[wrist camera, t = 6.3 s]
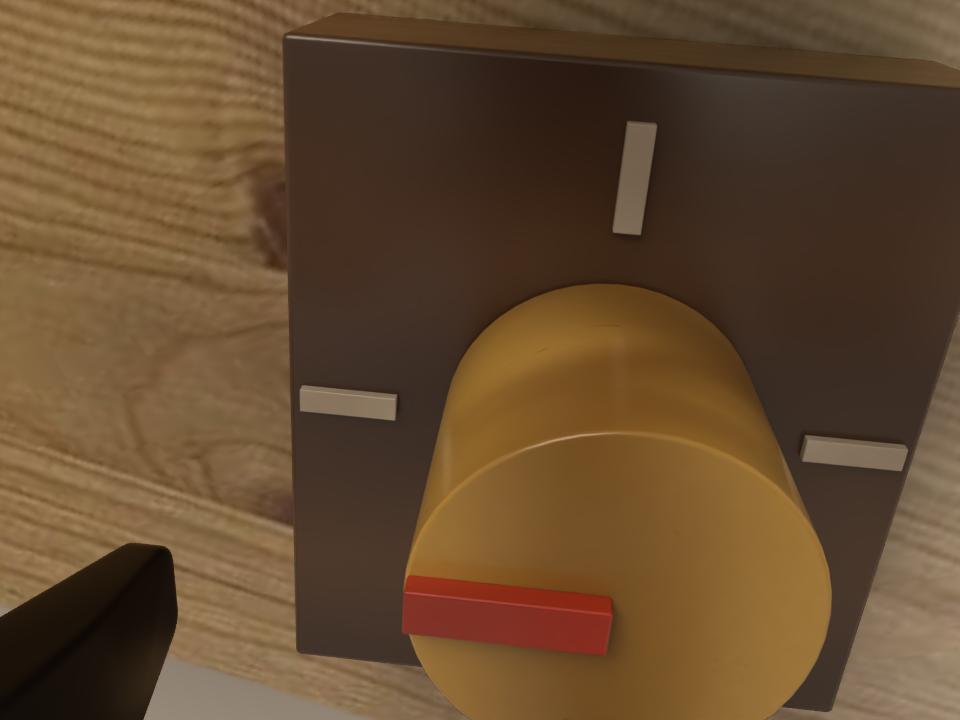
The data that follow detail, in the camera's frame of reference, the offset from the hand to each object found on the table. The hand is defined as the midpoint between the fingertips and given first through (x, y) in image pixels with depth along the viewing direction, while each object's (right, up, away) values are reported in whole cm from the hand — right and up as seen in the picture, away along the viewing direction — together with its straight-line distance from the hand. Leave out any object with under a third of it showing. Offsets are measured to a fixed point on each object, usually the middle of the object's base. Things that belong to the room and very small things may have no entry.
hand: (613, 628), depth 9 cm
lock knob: (0, +2, +4) cm, 4 cm away
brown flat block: (+1, +3, +7) cm, 7 cm away
